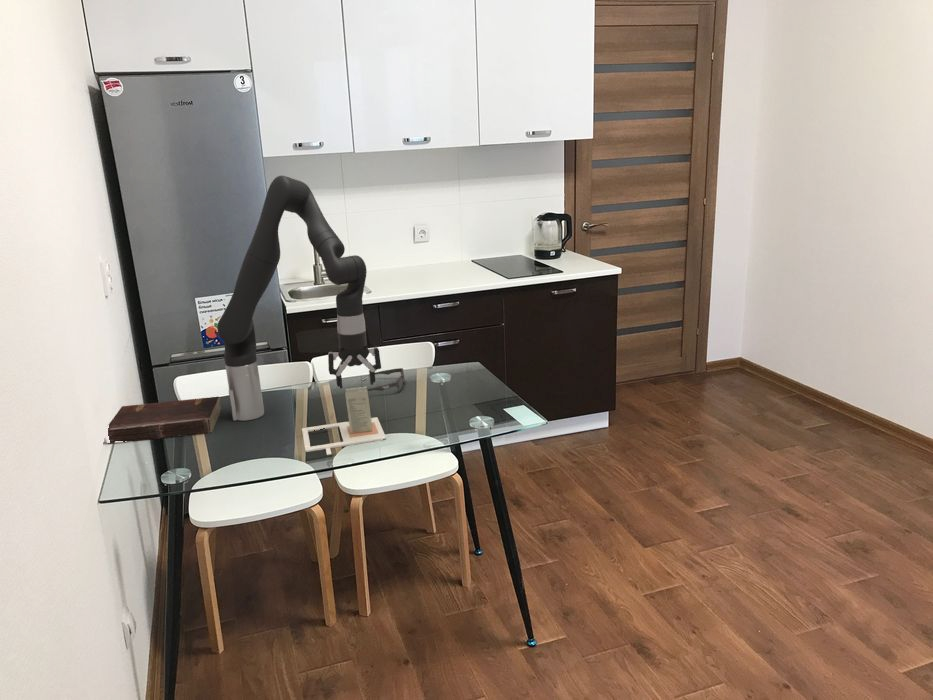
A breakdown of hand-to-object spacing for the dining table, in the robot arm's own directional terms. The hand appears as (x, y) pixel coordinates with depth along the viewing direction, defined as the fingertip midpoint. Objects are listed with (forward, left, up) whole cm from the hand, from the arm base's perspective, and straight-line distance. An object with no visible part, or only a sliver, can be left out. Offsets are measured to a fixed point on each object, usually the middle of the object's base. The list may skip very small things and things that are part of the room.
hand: (356, 385), depth 207 cm
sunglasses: (+11, +35, -15) cm, 40 cm away
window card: (-5, -2, -14) cm, 15 cm away
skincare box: (0, 0, -14) cm, 14 cm away
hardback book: (-55, +27, -15) cm, 63 cm away
